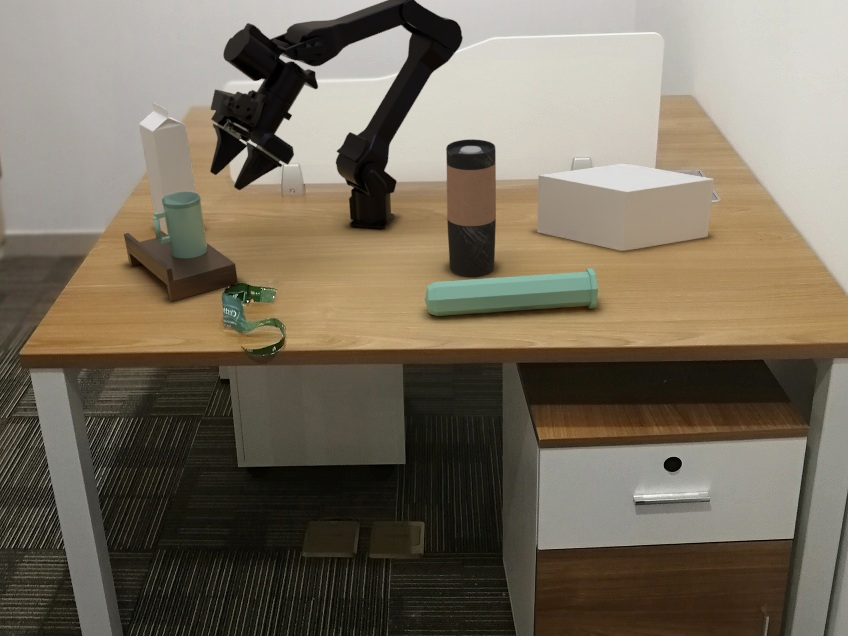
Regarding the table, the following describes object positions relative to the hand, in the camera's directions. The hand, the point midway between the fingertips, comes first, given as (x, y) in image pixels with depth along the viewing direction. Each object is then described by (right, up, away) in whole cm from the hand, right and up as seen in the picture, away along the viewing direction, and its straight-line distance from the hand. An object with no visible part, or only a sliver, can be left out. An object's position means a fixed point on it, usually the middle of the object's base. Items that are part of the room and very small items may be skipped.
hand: (224, 180), depth 163 cm
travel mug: (+40, -14, +2) cm, 42 cm away
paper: (+66, -7, +13) cm, 67 cm away
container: (+45, -21, -12) cm, 51 cm away
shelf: (-7, -15, +2) cm, 16 cm away
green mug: (-6, -11, +1) cm, 13 cm away
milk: (-12, -5, +19) cm, 23 cm away
